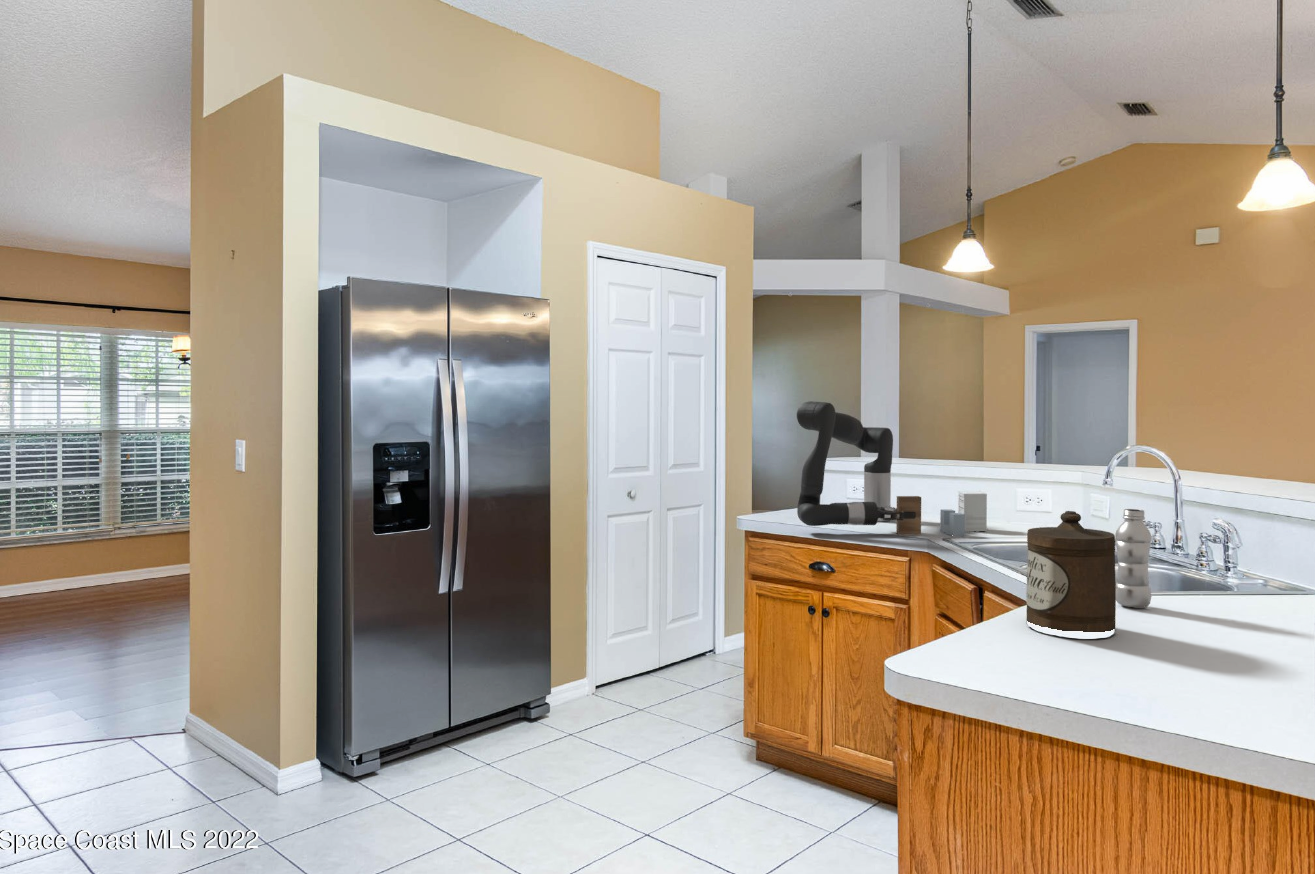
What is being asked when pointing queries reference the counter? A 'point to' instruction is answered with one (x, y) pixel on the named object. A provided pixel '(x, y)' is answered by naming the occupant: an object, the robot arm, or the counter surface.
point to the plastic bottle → (1133, 560)
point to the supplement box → (973, 510)
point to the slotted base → (952, 522)
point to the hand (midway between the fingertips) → (911, 513)
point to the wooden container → (1071, 577)
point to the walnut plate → (909, 524)
